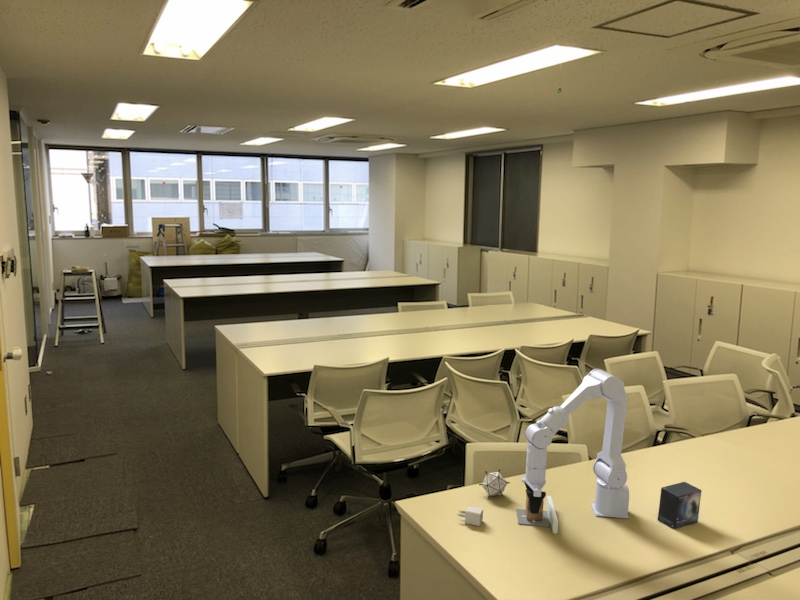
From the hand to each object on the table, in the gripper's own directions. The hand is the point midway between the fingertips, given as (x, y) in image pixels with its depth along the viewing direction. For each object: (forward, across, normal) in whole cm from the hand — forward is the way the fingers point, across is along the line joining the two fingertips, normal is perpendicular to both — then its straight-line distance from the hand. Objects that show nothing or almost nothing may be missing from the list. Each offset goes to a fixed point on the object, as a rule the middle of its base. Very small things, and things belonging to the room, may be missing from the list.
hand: (533, 508), depth 183 cm
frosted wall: (+3, 0, +6) cm, 6 cm away
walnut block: (+2, 0, 0) cm, 2 cm away
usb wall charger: (+3, +5, -19) cm, 20 cm away
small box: (+3, -5, +43) cm, 43 cm away
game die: (+3, -13, -11) cm, 17 cm away
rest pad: (+3, 0, 0) cm, 3 cm away
